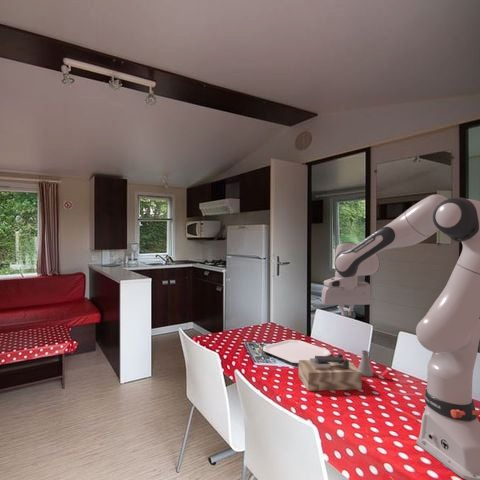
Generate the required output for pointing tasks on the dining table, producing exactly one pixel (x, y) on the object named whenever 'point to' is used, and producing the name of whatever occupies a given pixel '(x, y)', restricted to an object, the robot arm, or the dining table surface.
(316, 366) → the steel pin
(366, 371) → the flask
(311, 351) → the plate
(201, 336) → the dining table surface
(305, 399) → the dining table surface
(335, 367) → the socket block
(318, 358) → the latch bar
